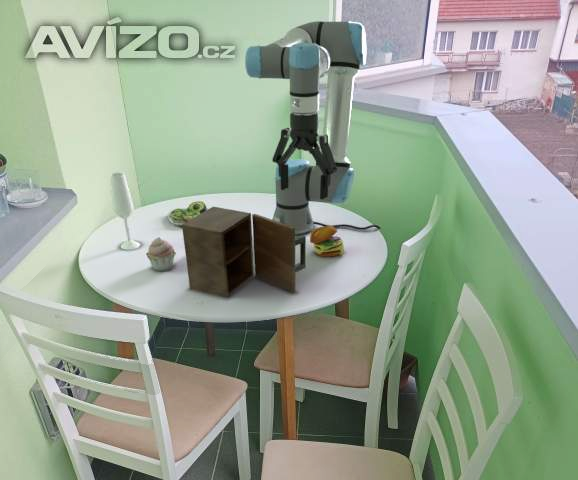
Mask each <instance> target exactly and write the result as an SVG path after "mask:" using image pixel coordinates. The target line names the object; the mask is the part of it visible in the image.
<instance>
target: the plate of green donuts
mask: <svg viewBox="0 0 578 480" xmlns="http://www.w3.org/2000/svg"><path fill="white" fill-rule="evenodd" d="M208 209H210V207H207V205H206V204H205V203H204V201H202V200H201V201H200V200H199V201H193V202H191V203H190V204H189V205H188V206H187V207H179V208H174V209H172V210H170V211H169V212H168V214H167V218H168V222H169V223H170V224H171V225H174V226H175V227H178V228H182V224H184V223H186V222H187V221H189V220H191V219H193V218H194V217H196V216H198V215H199V214H201V213H203V212H205V211H206V210H208Z"/></svg>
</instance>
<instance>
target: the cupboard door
mask: <svg viewBox="0 0 578 480" xmlns="http://www.w3.org/2000/svg"><path fill="white" fill-rule="evenodd" d="M272 219H273V218H272ZM272 219H271V218H268V217H266V216H262V215H261V214H257V213H253V214H252V213H251V222H252V242H253V263H254V277H255V278H257V279H260V280H262V281H264V282H267V283H269V284H271V285H273V286H275V287H278V288H281V289H283V290H284V291H287V292H290V293H292V294H294V293H296V273H299V272H300V271H302V270H305V269H306V265H307V264H306V262H307V261H306V259H307V258H306V256H307V255H306V251H307V249H306V248H307V244H306V243H307V236H306V234H300V235H297V236H296V235H295V227H292V226H289V225H286V224H283V223H280V222H277V221H274V220H272ZM298 245H299V262H298V263H296V246H298Z"/></svg>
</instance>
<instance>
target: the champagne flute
mask: <svg viewBox="0 0 578 480" xmlns="http://www.w3.org/2000/svg"><path fill="white" fill-rule="evenodd" d="M109 184H110V192H111V193H110V194H111V203H112V210H113V212H114V214H115V215H116V216H118V217H119V218H121V219H123V223H124V228H125V229H124V230H125V233H126V239H127V240H125V242H124V243H122V244H120V249H122V250H126V251H131V250H136V249H139V248H140V246H141V243H140V242H138V241H135V240H133V239H132V238H131V232H130V227H129V226H130V225H129V221H128V218H129V217H130V216H131V215H132V214H133V213H134V210H135V207H134V204H133V200H132V195H131V192H130V189H129V186H128V181H127V177H126V174H125V173H124V172H112V173H110V174H109Z"/></svg>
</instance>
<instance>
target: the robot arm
mask: <svg viewBox="0 0 578 480" xmlns="http://www.w3.org/2000/svg"><path fill="white" fill-rule="evenodd" d="M366 61H367V39H366V31H365V27H364V25H363V24H362V23H361V22H355V21H351V20H348V21H321V20H320V21H319V20H317V21H311V22H310V21H309V22H307V23H303V24H300V25H298V26H296V27H295V26H294V27H293V28H291V29H290V30H288V31H287V32H286V33H285V35H284V37H281V38H279V39H278V40H276V41H273V42H271V43H269V44H267V45H251V46H249V47H248V48H247V49H246V52H245V57H244V62H245V63H244V64H245V71H246V74H247V76H248V77H250V78H254V79H259V80H261V79H277V80H278V79H279V80H289V111H290V114H289V127H290V128H289V127H285V128H282V129H281V130H280V139H279V141H278V143H277V146H276V148H275V151H274V153H273V157H272V158H271V161H272V162H273V163H275V164H277V165H276V168H275V176H274V181H275V210H274V213H273V216H272V220H274V221H277V222H280V223H283V224H286V225H289V226H292V227H295V236H300V235H306V234H308V233H310V232H312V231H313V230H314V225H317V226H320V227H324V226H329V224H325V223H322V222H318V221H314V219H313V216H312V213H311V209H310V204H309V202H312V203H324V204H331V205H334V204H339V205H340V204H341V205H342V204H345V203H346V202H347V201H348V199H349V197H350V194H351V191H352V187H353V183H354V177H355V176H354V175H355V170H354V169H353V168H352V167H351V161H349V159H348V158H347V155H348V154H347V153H348V143H349V134H350V123H351V113H352V112H351V111H352V104H353V103H352V101H353V92H354V82H355V78H356V76H357V75H358V74H359V73H360V71H361V69H360V68H361V67H363V66H364V65H365V64H366ZM325 76H327V78H326V89H325V90H326V91H325V104H324V115H323V124H322V125H323V127H322V134H321V135H320V134H319V133H318V130H319V115H320V114H319V113H318V111H319V110H320V79H322V78H323V77H325ZM289 139H291V142H290V144H289V145H288V142H289ZM287 145H288V147H287ZM286 147H287V149H286ZM296 150H298V151H301V150H302V151H304V152H308V153H309V154H310V155H311V156H312V158H313V159H314V160H315V165H311V163H310V161H309V160H308V159H305V158H296V159H295V158H294V159H290V158H291V157H292V155H293V154H294V153H295V152H296ZM332 226H333V227H335V228H343V227H345V228H349V229H354V230H361V231H363V230H368V229H372V228H376V229H378V230H381V229H382V228H381V227H380V226H379V225H377V224H371V225H367V226H364V227H363V226H362V227H359V226H355V225H351V224H345V223H343V224H333V225H332Z"/></svg>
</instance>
